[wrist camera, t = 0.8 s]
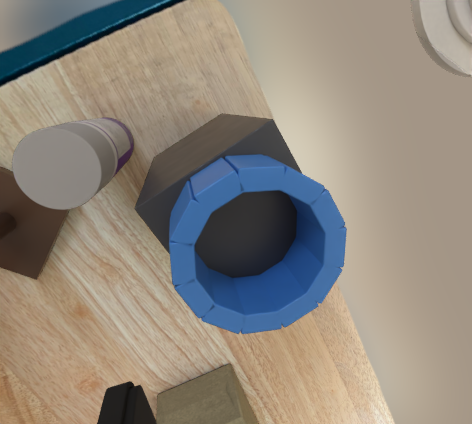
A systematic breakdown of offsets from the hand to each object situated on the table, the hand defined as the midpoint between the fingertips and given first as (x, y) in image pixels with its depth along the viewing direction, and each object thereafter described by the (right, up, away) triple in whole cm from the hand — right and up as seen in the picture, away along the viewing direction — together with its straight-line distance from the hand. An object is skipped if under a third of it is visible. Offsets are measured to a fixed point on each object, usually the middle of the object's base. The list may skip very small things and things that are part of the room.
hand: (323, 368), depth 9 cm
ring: (-2, +3, +9) cm, 10 cm away
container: (-14, +11, +24) cm, 30 cm away
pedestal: (-5, +8, +26) cm, 28 cm away
